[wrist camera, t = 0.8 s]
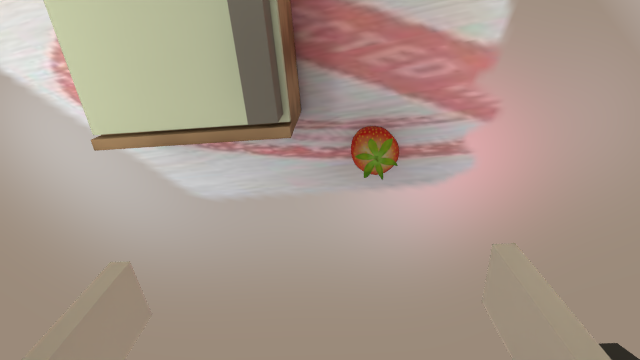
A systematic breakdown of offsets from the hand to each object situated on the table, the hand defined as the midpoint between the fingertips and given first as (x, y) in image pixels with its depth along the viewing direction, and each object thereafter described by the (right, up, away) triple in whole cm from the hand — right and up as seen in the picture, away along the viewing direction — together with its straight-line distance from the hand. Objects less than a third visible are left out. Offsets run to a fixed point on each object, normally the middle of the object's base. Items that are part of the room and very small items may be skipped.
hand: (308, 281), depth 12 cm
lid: (-12, +14, +15) cm, 24 cm away
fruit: (+7, +9, +28) cm, 30 cm away
